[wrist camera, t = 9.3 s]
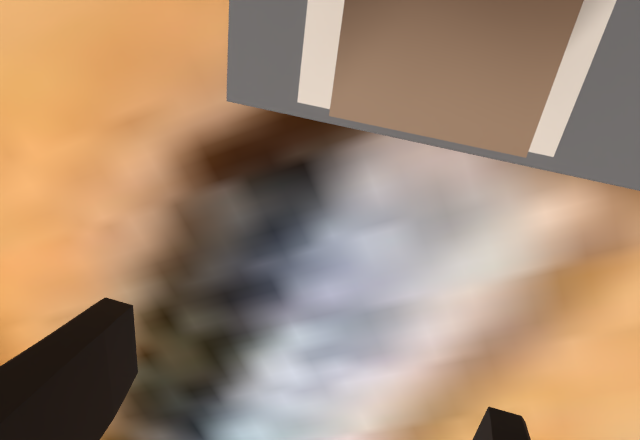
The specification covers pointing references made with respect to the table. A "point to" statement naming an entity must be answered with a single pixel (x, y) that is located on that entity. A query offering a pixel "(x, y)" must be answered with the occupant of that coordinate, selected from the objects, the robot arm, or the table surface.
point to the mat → (544, 153)
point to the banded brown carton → (452, 67)
